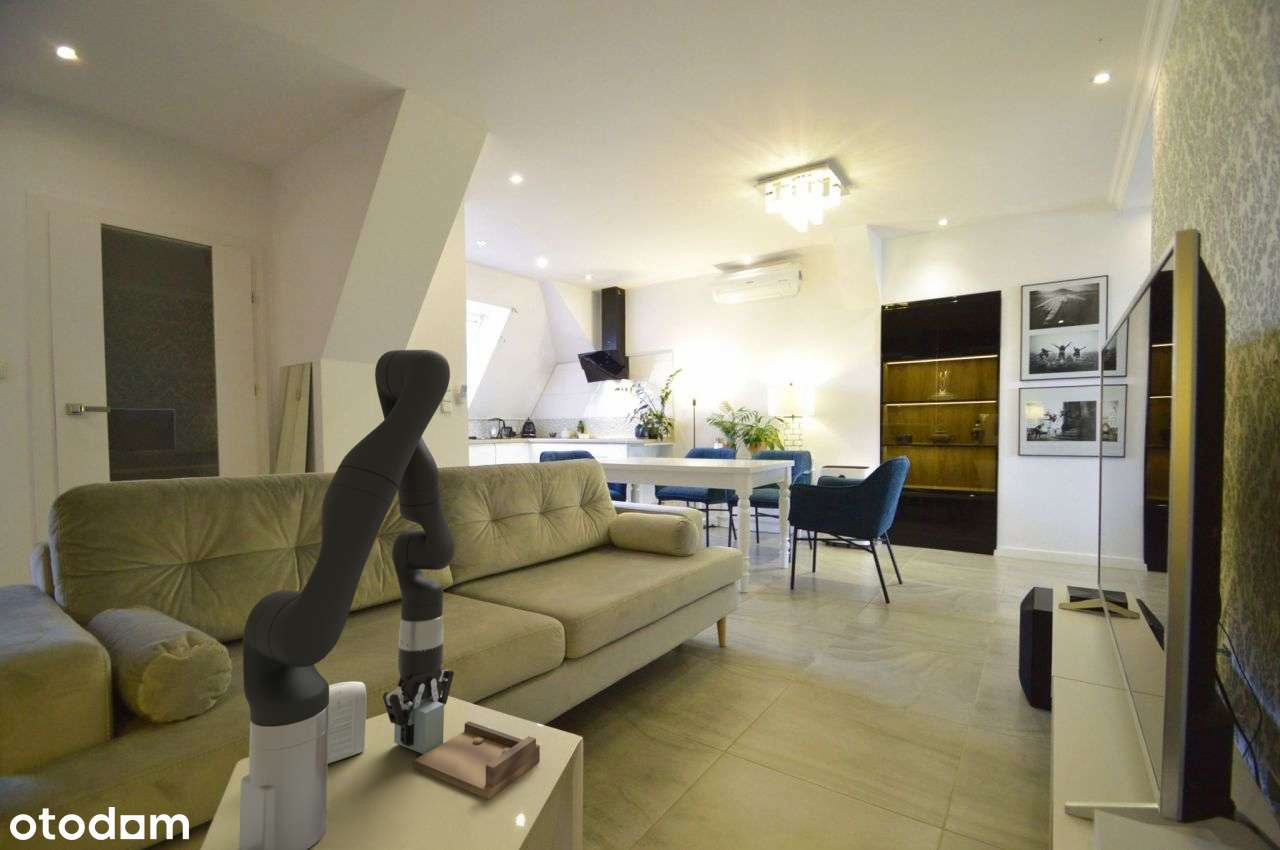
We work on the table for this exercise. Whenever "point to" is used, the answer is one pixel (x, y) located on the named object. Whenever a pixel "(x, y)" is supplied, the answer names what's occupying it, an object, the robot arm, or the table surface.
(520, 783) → the table surface
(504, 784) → the board
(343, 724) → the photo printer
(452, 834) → the table surface
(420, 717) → the tall pale blue block
